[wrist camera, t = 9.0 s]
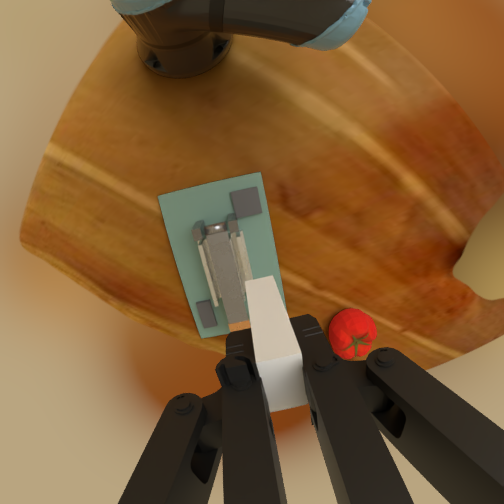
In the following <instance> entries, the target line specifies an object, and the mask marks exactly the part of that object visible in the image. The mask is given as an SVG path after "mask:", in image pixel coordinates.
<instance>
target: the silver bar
mask: <svg viewBox="0 0 504 504" xmlns="http://www.w3.org/2000/svg"><path fill="white" fill-rule="evenodd" d="M228 225H229V229H230V232H228V236H229V240H230V244H231V249H232V253H233V257H234V261H235V266H236V270H237V274H238V278H239V283H240V287H241V291H242V295H243V299H244V301H246V300H245V292H246V287H245V281H249V280H253V276H252V272H251V267H250V263H249V258H248V254H247V249H246V245H245V240H244V235H243V231H242V229H241V230H239V226H238V220H237V216H236V213H235V212H234V213H230V214H228ZM204 226H205V223H204V219H203V220H199V221H196V222H195V224H194V226H193V228H192V230H191V231H192V235H193V239H194V241H197V242H198V248H199V252H200V256H201V259H202V263H203V267H204V270H205V274H206V277H207V281H208V284H209V288H210V291H211V295H212V298H213V301H214V305H215V307H216V306H219V298H221V293H220V289H219V286H218V282H217V278H216V274H215V270H214V266H213V263H212V259H211V255H210V251H209V247H208V243H207V239H206V237H205V238H203V237H204V234H205V232H204Z"/></svg>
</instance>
